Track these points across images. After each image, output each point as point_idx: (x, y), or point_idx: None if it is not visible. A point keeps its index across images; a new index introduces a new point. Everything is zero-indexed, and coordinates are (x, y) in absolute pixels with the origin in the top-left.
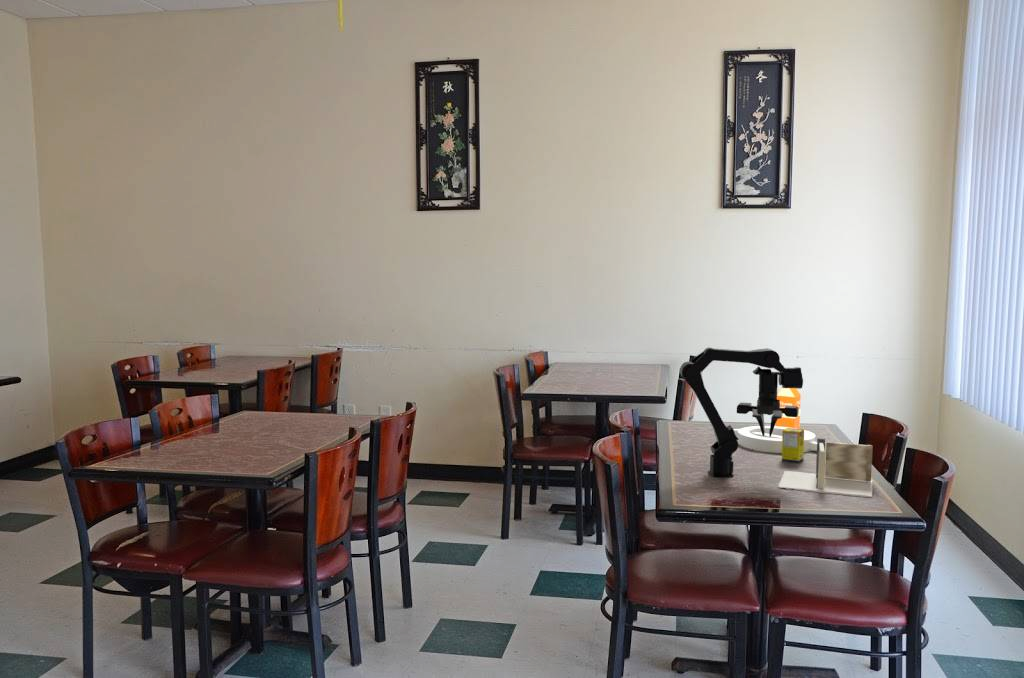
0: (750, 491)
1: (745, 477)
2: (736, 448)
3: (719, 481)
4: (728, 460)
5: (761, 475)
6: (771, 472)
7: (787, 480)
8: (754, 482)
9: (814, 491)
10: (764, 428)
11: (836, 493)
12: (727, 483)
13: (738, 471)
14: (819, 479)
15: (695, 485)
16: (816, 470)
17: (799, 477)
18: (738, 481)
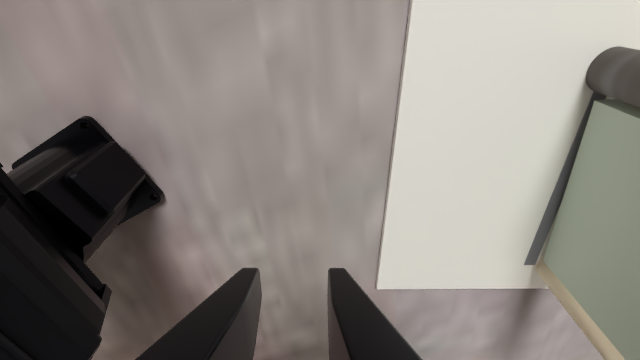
0: (286, 341)
1: (218, 180)
2: (98, 318)
3: (143, 275)
4: (94, 247)
5: (283, 111)
6: (328, 9)
7: (418, 193)
8: (276, 242)
9: (510, 285)
10: (232, 331)
11: None
12: (182, 288)
13: (141, 68)
14: (560, 302)
15: None
16: (618, 92)
17: (487, 115)
18: (211, 251)
